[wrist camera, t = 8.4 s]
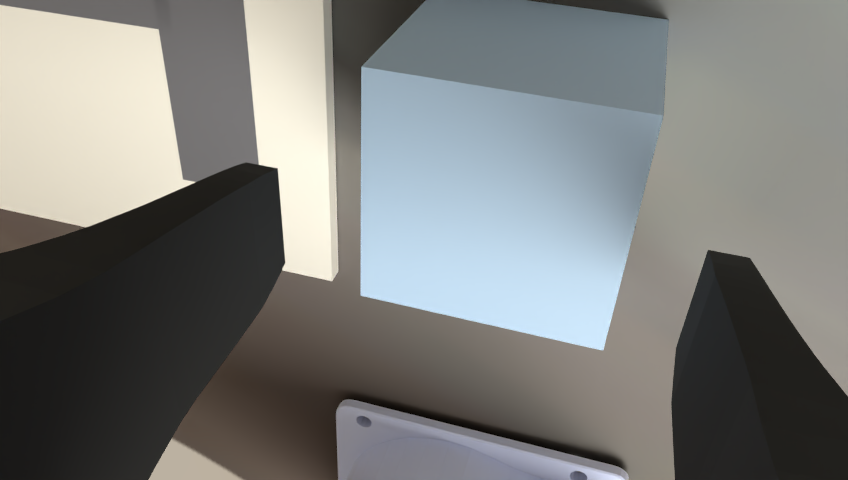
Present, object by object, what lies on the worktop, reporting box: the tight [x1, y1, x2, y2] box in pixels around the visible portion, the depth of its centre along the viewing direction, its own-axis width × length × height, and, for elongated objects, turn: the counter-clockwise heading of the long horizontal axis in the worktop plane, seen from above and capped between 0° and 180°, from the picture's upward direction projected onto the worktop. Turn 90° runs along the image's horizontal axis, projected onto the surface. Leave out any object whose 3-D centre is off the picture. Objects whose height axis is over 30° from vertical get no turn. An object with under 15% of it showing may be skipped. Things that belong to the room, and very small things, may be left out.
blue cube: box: [361, 0, 669, 350], centre depth 16 cm, size 5×5×5 cm
